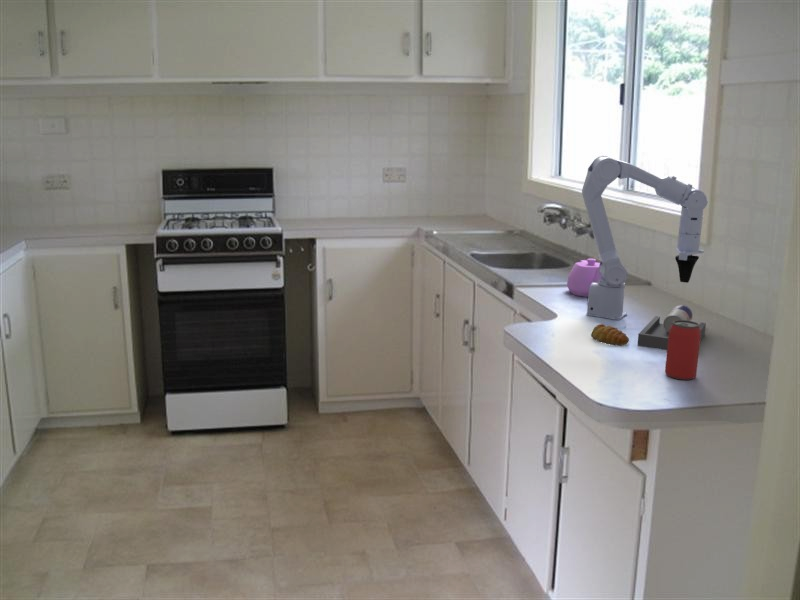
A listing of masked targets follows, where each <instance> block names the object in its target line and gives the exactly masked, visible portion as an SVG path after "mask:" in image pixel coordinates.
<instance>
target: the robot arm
mask: <svg viewBox="0 0 800 600" xmlns="http://www.w3.org/2000/svg"><path fill="white" fill-rule="evenodd" d="M617 178H618V179H620V180H623V179H631V180H634V181H636V182H639V183H641V184H643V185H646V186H648V187H650V188H653V189H654V191H655V193H656V195H657V196H658V197H660V198H662V199H665V200H667V201H670V202H672V203H674V204H675V205H678V206H679V205H680V206H681V210H680V211H681V212H680V217H679V227H678V234H677V235H678V237H677V245H676V249H675V251H676V253H678V255H675V258H674V259H675V261H676V263H677V267H678V272H679V273H678V275H679V282H680V283H686V284H688V283H689V282H690V279H691V276H692V274H693V270H694V267H695V265H696V263H697V261H698V260H699V259H700V257H699V256H698V255H697V254H703V253H704V251H705V250H704V249H700V245H701V237H702V236H701V234H702V225H703V215H704V210H705V208H706V207H707V205H708V203H709V201H708V200H707V199H708V198H707V196H706V194H705V193H704V192H703V191H702V190H699V189H697V188H695V187H693V185H692V184H690V183H688V184H686V183H684V182H682V181H680V180H677V177H676V176H674V175H671V176H668V175H665V176H662V177H658V176H657V175H654V174H652V173H650V172H648V171H646V170H644V169H642V168H640V167H638V166H636V165H634V164H632V163H630V162H626V161H623V160H619V159H616V158H610V157H609V156H608V155H607V156H606V155H600V156H597V157H596V158H595V159H594V160H593V161H592V162H591V163H590V165H589V166H588V168H587V173H586V177H585V180H584V183H583V184H582V185H583V186H582V189H581V194H582V199H583V201H584V205H585V206H584V207H585V209H586V212H587V213H586V214H587V215H588V219H589V223H590V227H591V230H592V231H591V232H592V234H593V238H594V242H595V245H596V248H597V253H598V259H599V263H600V265H599V273H600V275H601V276H602V278H601V279H600V280H599V283H592V284H591V285H590V288H589V295H588V297H587V298H588V299H587V309H586V314H585V315H586V316H590V317H598V318H603V319H604V318H605V319H613V320H621V319H623V318H624V317H625V316H626V315H627V312H626V311H623V310H624V300H625V293H626V292H625V289H626V283H625V282H626V281H627V278H628V270H627V268H625V266H624V265H623V264H622V262H621V259H620V256H619V254H618V251H617V247H616V244H615V242H614V237H613V234H612V233H613V232H612V230H611V227H610V223H609V220H608V216H607V211H606V209H605V204H604V201H603V198H602V195H603V193H604V192H605V190H606V189H607V188H608V186H609V185H610V184H611V183H613V182H614V181H615V180H616V179H617Z"/></svg>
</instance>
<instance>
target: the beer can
mask: <svg viewBox="0 0 800 600" xmlns="http://www.w3.org/2000/svg"><path fill="white" fill-rule="evenodd" d="M699 325H700V323H698V322H695V321H692V320H691V321H687V320H676V321H673V324H672V326H671V328H670V331H669V337H668V347H667V350H666V359H665V369H664V373H665V375H666V376H667V377H670V378H671V379H675V380H682V381H690V380H693V379H695V378H696V377H697V372H698V364H699V354H700V346H701V345H700V343H701V341H700V338H701V332H700V328H699Z"/></svg>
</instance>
